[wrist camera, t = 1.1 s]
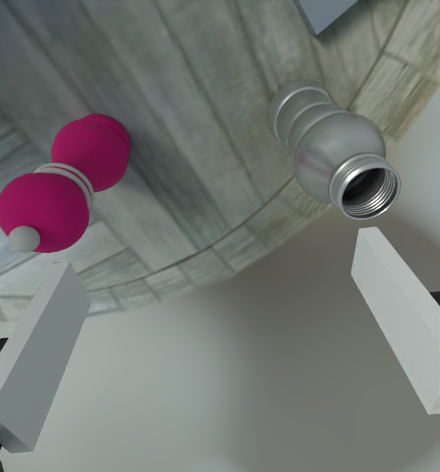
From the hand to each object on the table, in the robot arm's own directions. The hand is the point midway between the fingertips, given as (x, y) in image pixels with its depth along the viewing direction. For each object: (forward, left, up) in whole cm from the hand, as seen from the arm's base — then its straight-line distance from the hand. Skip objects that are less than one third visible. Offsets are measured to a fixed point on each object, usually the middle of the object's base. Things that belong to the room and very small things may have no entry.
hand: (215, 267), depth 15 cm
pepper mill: (-6, -11, -25) cm, 28 cm away
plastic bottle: (+5, +8, -25) cm, 27 cm away
